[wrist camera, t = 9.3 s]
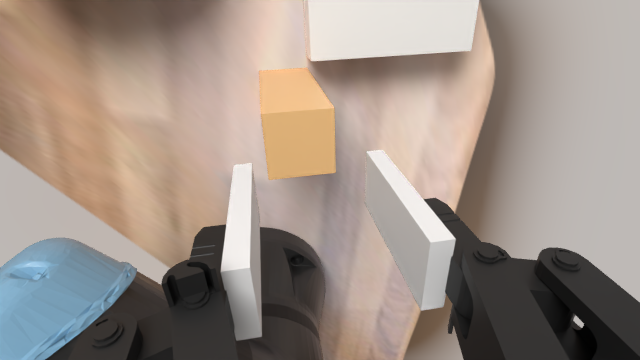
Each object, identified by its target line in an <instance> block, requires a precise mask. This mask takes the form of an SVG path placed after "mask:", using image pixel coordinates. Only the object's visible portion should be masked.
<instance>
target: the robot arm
mask: <svg viewBox="0 0 640 360" xmlns="http://www.w3.org/2000/svg"><path fill="white" fill-rule="evenodd" d="M365 205H366V207H367V208H368V210H369V212H370V214H371V216H372V218H373V220H374V222H375V224H376V226H377V228H378V229H379V231H380V233H381V235H382V237H383V239H384V241H385V243H386V245H387V247H388V249H389V250H390V252H391V254H392V256H393V258H394V260H395V262H396V264H397V266H398V268H399V270H400V271H401V273H402V275H403V277H404V279H405V281H406V283H407V285H408V287H409V289H410V290H411V292H412V294H413V296H414V298H415V300H416V302H417V304H418V306H419V308H420V310H427V309H433V308H439V307H443V306H444V301H445V295H446V294H447V296H448V297H449V299H450V301H451V302H452V304H453V305H452V309H451V314H450V319H449V324H448V333H449V334H451V333H452V330H453V326H454V327H455V331H456V334H457V338H458V341H459V345H460V348H461V352H462V355H463V359H464V360H640V302H638V301H637V300H636V299H635V298H633V297H632V296H631V295H630V294H628V293H627V292H626V291H625V290H624V289H622V288H621V287H620V286H619V285H617V284H616V283H615V282H614V281H613V280H611V279H610V278H609V277H608V276H606V275H605V274H604V273H603V272H602V271H600V270H599V269H598V268H597V267H595V266H594V265H593V264H592V263H591V262H589V261H588V260H587V259H585V258H584V257H582V256H581V255H579V254H577V253H575V252H572V251H569V250H566V249H562V248H547V249H544V250H542V251H541V252H540V254H539V256H538V259H537V260H527V259H516V258H511V257H510V256H509V255H508V253H507V252H506V251H505V250H503V249H501V248H500V247H498V246H495V245H493V244H490V243H485V242H481V241H480V240H479V239H478V238H477V237H476V236H475V235H474V233H473V232H472V231H471V230H470V229H469V228H468V227H467V226H466V225H465V224H464V222H463V221H460V218H459V217H458V216H457V215H456V214H454V212H453V210H452V209H451V208H450V207H449V206H448V205H447V204H445V203H444V202H442V201H440V200H438V199H436V198H431V199H423V198H422V197H421V196H420V195H419V194H418V192H417V191H416V190H415V189H414V187H413V186H412V185H411V184H410V183H409V181H408V180H407V179H406V178H405V176H404V175H403V174H402V173H401V172H400V170H399V169H398V168H397V167H396V165H395V164H394V163H393V162H392V161H391V159H390V158H389V157H388V156H387V155H386V153H385V152H384V151H383V150H375V151H366V176H365ZM190 256H191V258H190V259H189V260H186V261H183V262H181V263H178V264H176V265H175V266H174V267H172V268H171V269H169V270H168V271H167V273H166V274H165V275H164V277H163V279H162V285H160V284H158V283H157V282H155V281H153V280H152V279H150V278H148V277H146V276H145V275H143V274H141V273H139V272H137V269H136V268H134V267H133V266H132V265H131V264H129V263H127V262H118V261H117V260H114V259H113V258H111V257H109V256H107V255H105V254H103V253H101V252H99V251H97V250H95V249H93V248H91V247H89V246H87V245H85V244H83V243H81V242H79V241H76V240H73V239H69V238H52V239H46V240H43V241H39V242H37V243H34V244H33V245H31V246H29V247H27V248H26V249H24V250H23V251H22V252H20V253H19V254H17V255H16V256H15V257H13V258H12V259H11V260H10V261H8V262H7V263H6V264H4V265H3V266H2V267H0V360H323V355H322V349H321V345H320V339H319V333H318V330H319V325H320V319H321V314H322V308H323V302H324V297H325V278H324V274H323V270H322V266H321V262H320V260H319V258H318V256H317V254H316V253H315V251H314V250H313V249H312V248H311V247H310V246H309V245H308V244H307V243H306V242H305V241H303V240H302V239H300V238H299V237H297V236H295V235H293V234H291V233H288V232H285V231H282V230H278V229H273V228H262V227H260V215H259V208H258V202H257V195H256V188H255V181H254V174H253V167H252V163H248V164H238V165H234V168H233V176H232V184H231V192H230V200H229V208H228V216H227V224H226V225H219V226H210V227H203V228H202V229H201V231H200V232H199V233H198V234H197V235H196V236H195V239H194V243H193V249H192V251H191V255H190ZM575 315H576V316H577V317H578V318H579V319H580V320H581V321H582V322H583V323H584V326H583V328H581V327H579V326H578V325H577V324H576V323H575V322H574V321H573V319H574V316H575Z"/></svg>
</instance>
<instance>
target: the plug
mask: <svg viewBox="0 0 640 360" xmlns="http://www.w3.org/2000/svg"><path fill="white" fill-rule="evenodd" d="M259 80H260V104H261V119H262V127H263V135H264V144H265V152H266V160H267V169H268V177H269V180H273V179H283V178H292V177H301V176H311V175H320V174H329V173H336V167H335V110H334V106H333V105H332V104H331V102H330V101H329V99H328V98H327V96H326V95H325V93H324V92H323V91H322V89H321V88H320V86H319V85H318V83H317V82H316V80H315V79H314V78H313V76H312V75H311V73H310V72H309V70H308V69H307V68H295V69H281V70H266V71H259Z"/></svg>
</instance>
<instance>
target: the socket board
mask: <svg viewBox="0 0 640 360" xmlns="http://www.w3.org/2000/svg"><path fill="white" fill-rule="evenodd" d="M478 4H479V0H303V6H304V25H305V44H306V56H307V57H308V58H309V59H310V61H325V60H340V59H355V58H370V57H385V56H400V55H415V54H430V53H444V52H459V51H471V48H472V42H473V36H474V29H475V23H476V17H477V11H478Z"/></svg>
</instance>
